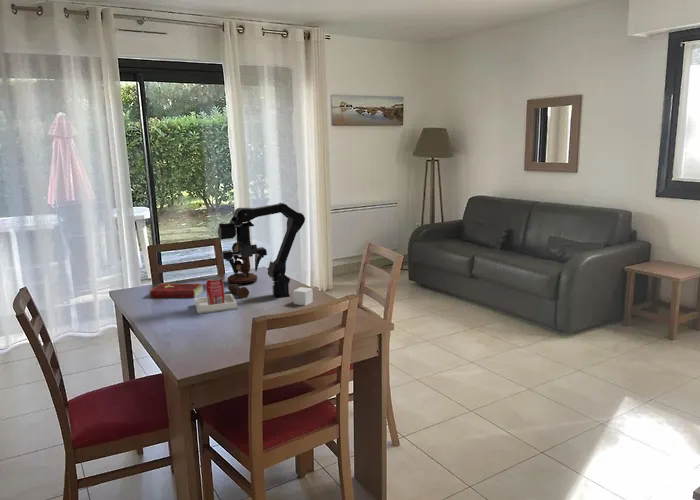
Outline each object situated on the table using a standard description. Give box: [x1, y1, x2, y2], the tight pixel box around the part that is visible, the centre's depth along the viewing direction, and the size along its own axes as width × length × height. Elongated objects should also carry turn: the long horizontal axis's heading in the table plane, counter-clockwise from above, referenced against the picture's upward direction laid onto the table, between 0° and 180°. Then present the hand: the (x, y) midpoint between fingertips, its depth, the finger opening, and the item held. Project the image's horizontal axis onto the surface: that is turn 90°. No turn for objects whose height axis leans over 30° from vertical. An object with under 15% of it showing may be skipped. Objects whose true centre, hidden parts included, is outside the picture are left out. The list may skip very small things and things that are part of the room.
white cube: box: [292, 286, 314, 306], centre depth 230 cm, size 6×6×6 cm
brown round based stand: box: [227, 241, 258, 287], centre depth 266 cm, size 15×15×20 cm
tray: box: [193, 293, 238, 315], centre depth 227 cm, size 16×14×3 cm
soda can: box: [205, 276, 225, 305], centre depth 225 cm, size 7×7×12 cm
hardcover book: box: [149, 283, 204, 299], centre depth 248 cm, size 12×21×4 cm, turn 86°
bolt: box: [227, 283, 250, 300], centre depth 245 cm, size 6×5×15 cm
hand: (245, 272), depth 232 cm, fingers open, 9 cm apart
